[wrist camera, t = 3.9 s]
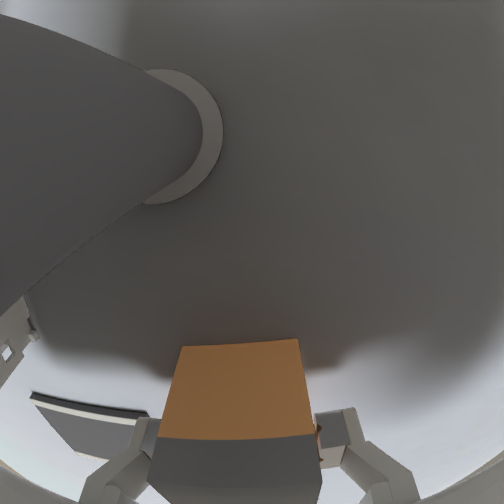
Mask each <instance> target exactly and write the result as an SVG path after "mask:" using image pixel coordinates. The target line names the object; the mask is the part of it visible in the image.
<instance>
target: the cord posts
mask: <svg viewBox="0 0 504 504" xmlns="http://www.w3.org/2000/svg"><path fill="white" fill-rule="evenodd" d="M222 143H223V122H222V116H221V113H220V110H219V107H218V105H217V103H216V101H215V100H214V98H213V97H212V95H211V94H210V93H209V92H208V91H207V90H206V89H205V87H203V86H202V85H201V84H200V83H199V82H198V81H196V80H195V79H194V78H192V77H190V76H188V75H187V74H184V73H182V72H179V71H175V70H170V69H151V70H146V71H142V70H140V69H138V68H136V67H134V66H132V65H130V64H128V63H126V62H124V61H122V60H120V59H117V58H115V57H113V56H111V55H109V54H107V53H105V52H102V51H100V50H98V49H96V48H93V47H91V46H89V45H86V44H84V43H82V42H79V41H77V40H74V39H72V38H70V37H67V36H64V35H62V34H59V33H57V32H54V31H51V30H49V29H46V28H43V27H40V26H37V25H34V24H31V23H28V22H25V21H22V20H19V19H16V18H12V17H9V16H5V15H2V14H0V317H1V316H2V315H3V314H4V313H5V312H6V311H7V310H8V309H9V308H10V307H11V306H12V305H13V304H14V303H16V302H17V301H18V300H19V299H20V298H21V297H22V296H23V295H24V294H25V293H26V292H27V291H29V290H30V289H31V288H32V287H33V286H34V285H35V284H36V283H38V282H39V281H40V280H41V279H42V278H43V277H44V276H46V275H47V274H48V273H49V272H50V271H52V270H53V269H54V268H55V267H56V266H58V265H59V264H60V263H61V262H62V261H64V260H65V259H66V258H67V257H69V256H70V255H71V254H72V253H74V252H75V251H76V250H77V249H79V248H80V247H81V246H82V245H84V244H85V243H86V242H88V241H89V240H90V239H92V238H93V237H94V236H96V235H97V234H98V233H100V232H101V231H102V230H104V229H105V228H106V227H108V226H109V225H110V224H112V223H113V222H115V221H116V220H117V219H119V218H120V217H122V216H123V215H124V214H126V213H127V212H129V211H130V210H132V209H133V208H135V207H136V206H137V205H139V204H140V203H143V204H162V203H166V202H170V201H173V200H176V199H178V198H180V197H182V196H184V195H186V194H188V193H189V192H190V191H192V190H193V189H194V188H196V187H197V186H198V185H199V184H200V183H201V182H202V181H203V180H204V179H205V178H206V177H207V176H208V174H209V173H210V172H211V170H212V169H213V167H214V166H215V164H216V162H217V160H218V157H219V154H220V152H221V148H222Z"/></svg>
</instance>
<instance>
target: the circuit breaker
mask: <svg viewBox="0 0 504 504" xmlns="http://www.w3.org/2000/svg"><path fill="white" fill-rule="evenodd" d="M29 317H30V313H29V311H28V308H27V305H26V302H25V299H24V296H22V297H21V298H20V299H19V300H18V301H17V302H16V303H14V304H13V305H12V306H11V307H10V308H9V309H8V310H7V311H6V312H5V313H4V314H3V315H2V316H1V317H0V389H1V387H2V386H3V384H4V383H5V382H6V380H7V379H8V377H9V376H10V375H11V373H12V372H13V371H14V369H15V368H16V367H17V365H18V364H19V363H20V361H21V360H22V359H23V357H24V355H23V353H22V351H23V350H24V348H25V347H26V346H27V345H28V344H29V342H30V341H33V342H36V341H37V340H38V339H39V336H38V333H37V331H35V330H31V327H30V325H29V322H28V320H27V319H28V318H29ZM8 346H9V348H10V350H11V352H12V354H11V355H10V356H9V358H8V359H7V360H6V361H5V360H4V358H3V356H2V353H3V352H4V350H5V349H6V348H7V347H8Z"/></svg>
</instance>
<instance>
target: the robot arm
mask: <svg viewBox="0 0 504 504" xmlns="http://www.w3.org/2000/svg"><path fill="white" fill-rule="evenodd" d="M313 419H314V424H313V426H314V431H315V437H316V443H317V450H318V456H319V462H320V468H321V469H325V468H332V467H338V466H340V468H341V469H342V470H343V471H344V472H345V473H346V474H347V475H348V476H349V477H350V478H351V479H352V480H353V481H354V482H355V483H356V484H357V485H358V486H360V487H361V488H362V489H363V490H364V491H365V492H366V494H365V496H364V497H363V499H362V500H361V501H360V503H359V504H504V458H502V459H501V460H499V461H497V462H496V463H494V464H493V465H491V466H489V467H488V468H486V469H484V470H482V471H481V472H479V473H477V474H475V475H474V476H472V477H470V478H468V479H466V480H464V481H462V482H460V483H458V484H456V485H454V486H452V487H450V488H448V489H445V490H443V491H441V492H439V493H436V494H434V495H432V496H429V497H427V498H424V499H422V500H421V499H420V496H419V493H418V490H417V487H416V484H415V481H414V478H413V475H412V472H411V471H410V470H408V469H407V468H405V467H404V466H403V465H401V464H400V463H398V462H397V461H396V460H394V459H393V458H391V457H390V456H389V455H387V454H386V453H385V452H383V451H382V450H381V449H379V448H378V447H377V446H375V445H374V444H373V443H371V442H370V441H366V442H365V438H364V435H363V432H362V428H361V425H360V422H359V419H358V415H357V412H356V409H355V408H354V407H351V408H346V409H341V410H340V409H339V410H333V411H328V412H322V413H316V414H314V418H313ZM161 420H162V419H157V418H148V417H139V418H138V419H137V421H136V424H135V427H134V430H133V433H132V436H131V439H130V442H129V445H128V448H127V449H125V448H124V449H123V450H122V451H120V452H119V453H118V454H117V455H115V456H114V457H113V458H112V459H110V460H109V461H108V462H107V463H105V464H104V465H103V466H101V467H100V468H99V469H98V470H96V471H95V472H94V473H92V474H91V475H90V476H88V477H87V479H86V482H85V485H84V488H83V490H82V493H81V496H80V499H79V502H76V501H73V500H70V499H68V498H65V497H63V496H61V495H58V494H56V493H54V492H51V491H49V490H47V489H45V488H43V487H41V486H39V485H36V484H34V483H32V482H30V481H29V480H27V479H25V478H23V477H21V476H19V475H17V474H15V473H13V472H12V471H10V470H8V469H7V468H5V467H3V466H2V465H0V504H139V503H137V502H136V501H135V499H136V498H137V497H138V496H139V495H140V494H141V493H142V492H143V491H144V490H145V489H146V488H147V487H148V486H149V485H150V484H149V483H148V482H147V481H146V480H147V476H148V471H149V467H150V463H151V459H152V455H153V451H154V447H155V443H156V439H157V435H158V431H159V428H160V424H161Z"/></svg>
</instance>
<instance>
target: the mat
mask: <svg viewBox="0 0 504 504" xmlns="http://www.w3.org/2000/svg"><path fill="white" fill-rule="evenodd" d="M29 399H30V400H31V402H32V403H33V404H34V405H35V406H36V407H37V409H38V410H39V411H40V412H41V414H42V415H43V416H44V417H45V419H46V420H47V421H48V422H49V423H50V425H51V426H52V427H53V428H54V429H55V430H56V432H57V433H58V434H59V435H60V436H61V437H62V438H63V439H64V440H65V442H66V443H67V444H68V445H69V446H70V447H71V448H72V449H73V450H74V452H75V453H76V454H77V455H80V456H84V457H88V458H91V459H95V460H99V461H103V462H108V461H109V460H110V459H112V458H113V457H114V456H115V455H117V454H118V453H119V452H120V451H122V450H123V449H124V448H125V449H127V448H128V445H129V442H130V439H131V436H132V433H133V430H134V427H135V424H136V421H137V419H138V418H139V417H148V418H150V417H149V416H148V414H147V413H139V412H130V411H121V410H114V409H107V408H100V407H94V406H88V405H83V404H77V403H72V402H67V401H63V400H58V399H54V398H50V397H46V396H42V395H38V394H34V393H32V395H31V396H30V398H29Z"/></svg>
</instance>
